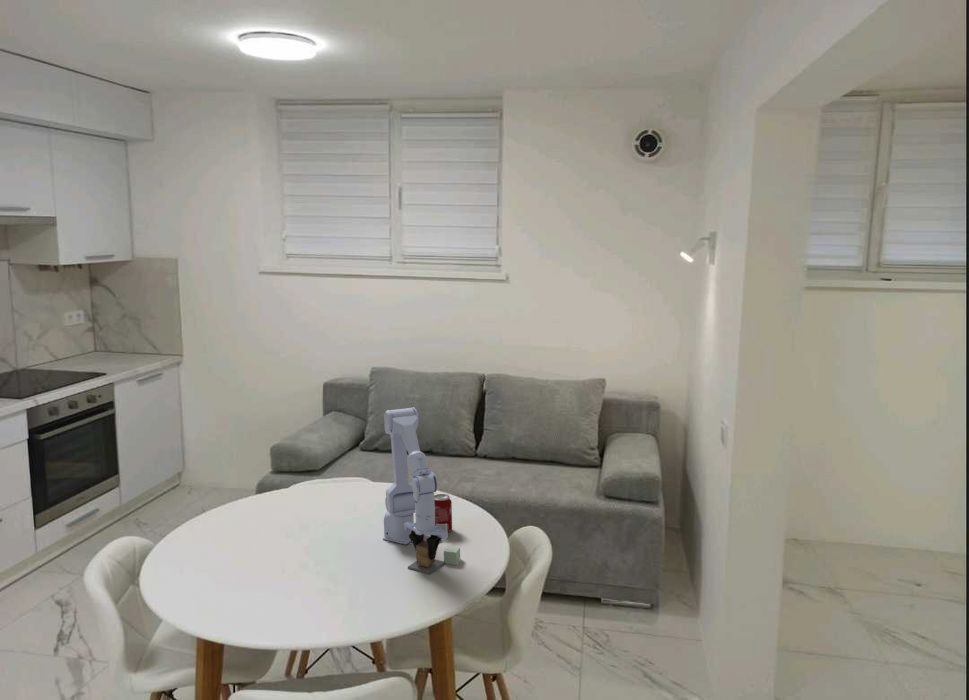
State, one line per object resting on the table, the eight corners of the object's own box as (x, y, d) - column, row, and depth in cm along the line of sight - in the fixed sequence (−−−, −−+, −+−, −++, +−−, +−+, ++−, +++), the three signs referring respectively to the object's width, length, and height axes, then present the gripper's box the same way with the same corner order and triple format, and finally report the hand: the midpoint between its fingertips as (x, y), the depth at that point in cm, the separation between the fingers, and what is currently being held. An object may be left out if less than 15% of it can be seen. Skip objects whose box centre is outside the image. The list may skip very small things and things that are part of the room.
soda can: (449, 535, 245) (448, 501, 243) (429, 534, 246) (428, 499, 244) (454, 527, 251) (453, 493, 249) (435, 526, 252) (434, 492, 250)
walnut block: (424, 558, 225) (423, 540, 224) (435, 561, 223) (434, 542, 222) (416, 564, 222) (415, 545, 221) (427, 567, 220) (427, 548, 219)
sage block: (443, 563, 225) (443, 551, 224) (447, 558, 229) (447, 545, 228) (456, 565, 224) (456, 552, 223) (460, 559, 228) (460, 547, 227)
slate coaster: (407, 568, 222) (407, 566, 222) (423, 558, 228) (422, 556, 228) (430, 574, 218) (430, 572, 218) (444, 563, 225) (444, 561, 224)
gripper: (397, 513, 220) (398, 556, 223) (438, 523, 213) (439, 567, 216) (411, 505, 226) (412, 547, 229) (451, 514, 219) (452, 557, 222)
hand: (426, 556), depth 223 cm, fingers closed on walnut block, 4 cm apart
